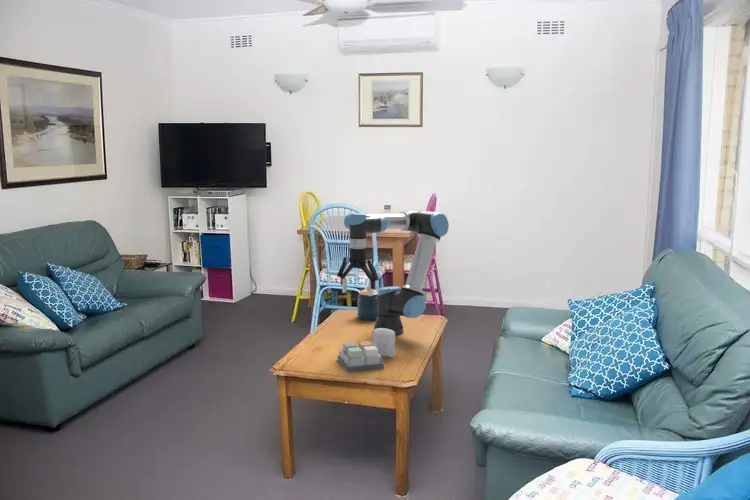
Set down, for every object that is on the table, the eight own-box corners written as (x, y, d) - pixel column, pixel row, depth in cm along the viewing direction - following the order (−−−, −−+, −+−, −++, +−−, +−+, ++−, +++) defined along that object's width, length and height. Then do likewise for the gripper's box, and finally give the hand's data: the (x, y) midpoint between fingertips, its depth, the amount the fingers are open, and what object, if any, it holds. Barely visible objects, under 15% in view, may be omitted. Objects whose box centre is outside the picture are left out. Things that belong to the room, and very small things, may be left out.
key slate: (354, 350, 271) (354, 342, 271) (357, 353, 267) (357, 345, 266) (343, 351, 270) (343, 343, 269) (346, 354, 265) (346, 346, 265)
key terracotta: (369, 348, 274) (369, 341, 273) (372, 352, 269) (372, 344, 268) (358, 349, 272) (358, 342, 271) (361, 353, 267) (361, 345, 267)
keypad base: (371, 356, 277) (372, 346, 276) (383, 368, 262) (384, 357, 261) (337, 360, 272) (337, 349, 271) (347, 372, 257) (347, 360, 256)
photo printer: (396, 355, 280) (396, 328, 278) (392, 357, 276) (393, 330, 274) (374, 352, 284) (375, 325, 282) (371, 355, 280) (371, 328, 278)
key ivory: (374, 353, 267) (374, 345, 267) (378, 357, 262) (378, 349, 262) (363, 354, 265) (363, 346, 265) (366, 358, 261) (366, 350, 260)
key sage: (358, 355, 265) (358, 347, 264) (362, 358, 260) (362, 350, 260) (347, 356, 263) (347, 348, 263) (350, 359, 259) (350, 351, 258)
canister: (385, 317, 345) (385, 286, 342) (370, 322, 335) (370, 290, 332) (367, 313, 353) (367, 283, 350) (352, 317, 343) (352, 286, 340)
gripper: (329, 246, 281) (329, 292, 284) (378, 251, 269) (378, 298, 272) (338, 244, 287) (338, 289, 290) (386, 248, 276) (385, 295, 279)
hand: (357, 294), depth 281 cm, fingers open, 13 cm apart
